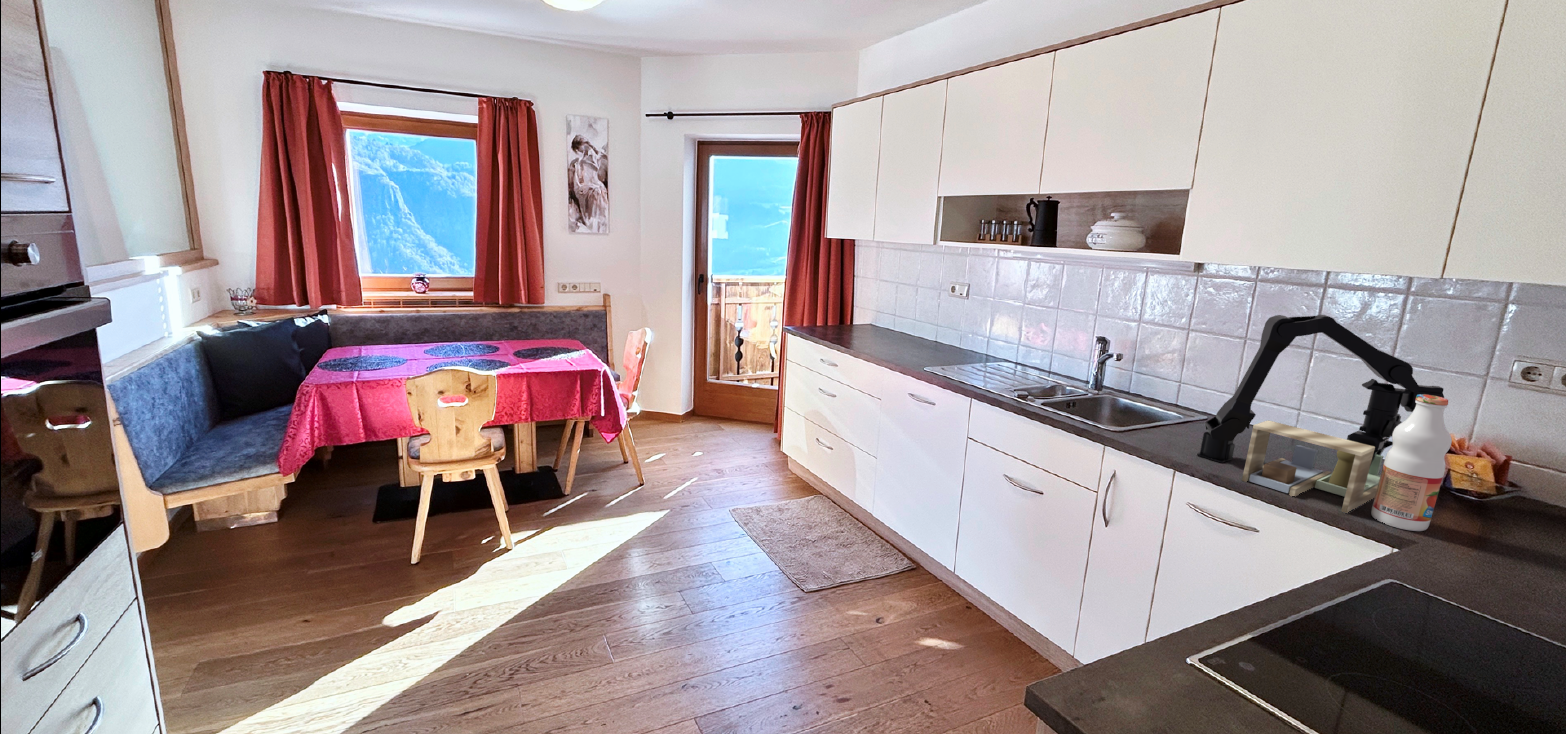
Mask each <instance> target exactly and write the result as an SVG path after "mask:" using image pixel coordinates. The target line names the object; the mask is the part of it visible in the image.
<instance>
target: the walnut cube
mask: <svg viewBox="0 0 1566 734" xmlns="http://www.w3.org/2000/svg"><path fill="white" fill-rule="evenodd" d="M1263 465H1264V467H1263V472H1262V477H1265V478H1269V479H1272V480H1275V481H1278V482H1282V483H1285V484H1288V485H1289V484H1292V483H1293V482H1294V478H1295V473H1296V469H1297V467H1294V466H1290V465H1287V464H1283V463H1280V462H1276V461H1275V460H1271V461H1268V462H1265V463H1264V464H1263Z"/></svg>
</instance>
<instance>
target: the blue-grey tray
mask: <svg viewBox="0 0 1566 734" xmlns="http://www.w3.org/2000/svg"><path fill="white" fill-rule="evenodd" d="M1318 453H1319V449H1314V448H1312V447H1308V446H1304V445H1300V444H1297V445H1296V444H1295V447H1294V451H1293V455H1292V459H1291V461H1290V460H1287V459H1286V460H1285V461H1282V462H1280V463H1283V464H1287V465H1290V466H1294V467H1297V469H1296V473H1295V478H1294V482H1293V483H1292V484H1289V485H1288V484H1285V483H1282V482H1278V481H1275V480H1272V479H1269V478H1265V477H1262V472H1263V469H1262V470H1260V471H1257V472H1255V473H1252V474H1251V475H1250V479H1249V481H1248V482H1250V483H1254V484H1256V485H1260V486H1263V487H1266V488H1270V489H1273V490H1276V491H1279V492H1282V493H1284V494H1289V493H1290V489H1291V487H1293V486H1295V485H1298V484H1300V483H1302V482H1304V481H1306V480H1308V479H1311V478H1313V477H1315V476H1317V475H1319V474H1321V473H1324V470H1321V469H1318V468H1315V466H1316V463H1317V459H1318Z"/></svg>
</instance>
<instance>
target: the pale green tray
mask: <svg viewBox="0 0 1566 734" xmlns="http://www.w3.org/2000/svg"><path fill="white" fill-rule="evenodd" d="M1383 460H1384V456H1383V455H1382V454H1381V455H1377V454H1376V456H1375V458H1374V460H1373V462H1372V464H1371V466H1370V469H1369V472H1368V476H1367V480H1366V484H1365V488H1364V492H1366V491H1368V490H1369V489H1371V488H1373V487H1375V486H1377V485H1378V484H1379V480H1380V476H1381V474H1380V472H1381V467H1382V464H1383ZM1331 475H1332V474H1330V475H1327V476H1325V477H1323V478H1321V479H1319V480H1317V481H1316V485H1315V487H1314V488H1315V489H1318V490H1321V491H1325V492H1328V493H1331V494H1335V495H1338V496H1342V497H1344V498H1345V494H1346V490H1347V488H1344V487H1341V486H1337V485H1334V484H1331V483H1328V482H1329V480H1330V478H1331ZM1364 492H1363V493H1364Z"/></svg>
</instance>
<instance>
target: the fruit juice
mask: <svg viewBox="0 0 1566 734" xmlns="http://www.w3.org/2000/svg"><path fill="white" fill-rule="evenodd" d="M1415 400H1416V401H1415V403H1416V407H1415V409H1414V411H1413V412H1410V413H1411V414H1410V415H1409V416H1408V417H1407V418H1406V419H1405V420H1404V421H1401V422H1402V423H1400V424H1399V425H1398V426H1396V428H1395V429H1394V431H1393V434H1392V436H1391V438H1392V442H1393V445H1392V447H1391V448H1390V449H1389V450H1388V451H1387V453H1386V456H1385V458H1384V459H1383V460H1384V461H1383V465H1382V469H1381V471H1380V472H1381V473H1380V475H1381V476H1380V480H1379V484H1378V488H1377V491H1376V495H1375V498H1374V499H1373V503H1372V507H1371V516H1372V518H1374V519H1375V520H1376V519H1377V520H1376V521H1378V522H1380V523H1382V522H1383V523H1382V524H1384V523H1385V524H1384V525H1387V526H1390V527H1393V528H1395V529H1396V528H1397V529H1399V530H1400V529H1401V530H1403V531H1404V530H1406V531H1413V532H1423V531H1424V532H1425V531H1426V530H1427V529H1428V528H1429V526H1430V525H1431V520H1432V516H1433V513H1434V509H1435V506H1436V504H1437V503H1436V502H1437V499H1438V496H1439V492H1440V488H1441V485H1442V481H1443V478H1444V475H1445V472H1446V471H1445V470H1446V460H1445V455H1446V454H1447V453H1448V451H1449V450H1450V448H1451V446H1452V442H1453V441H1452V435H1451V433H1450V431H1448V429H1447V428H1446V425H1445V420H1444V418H1445V417H1444V411H1445V409H1446V408H1447V407H1448V405H1449V399H1447V398H1445V397H1444V398H1442V397H1438V396H1433V395H1424V394H1419V395H1417V396H1416V399H1415Z"/></svg>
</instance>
